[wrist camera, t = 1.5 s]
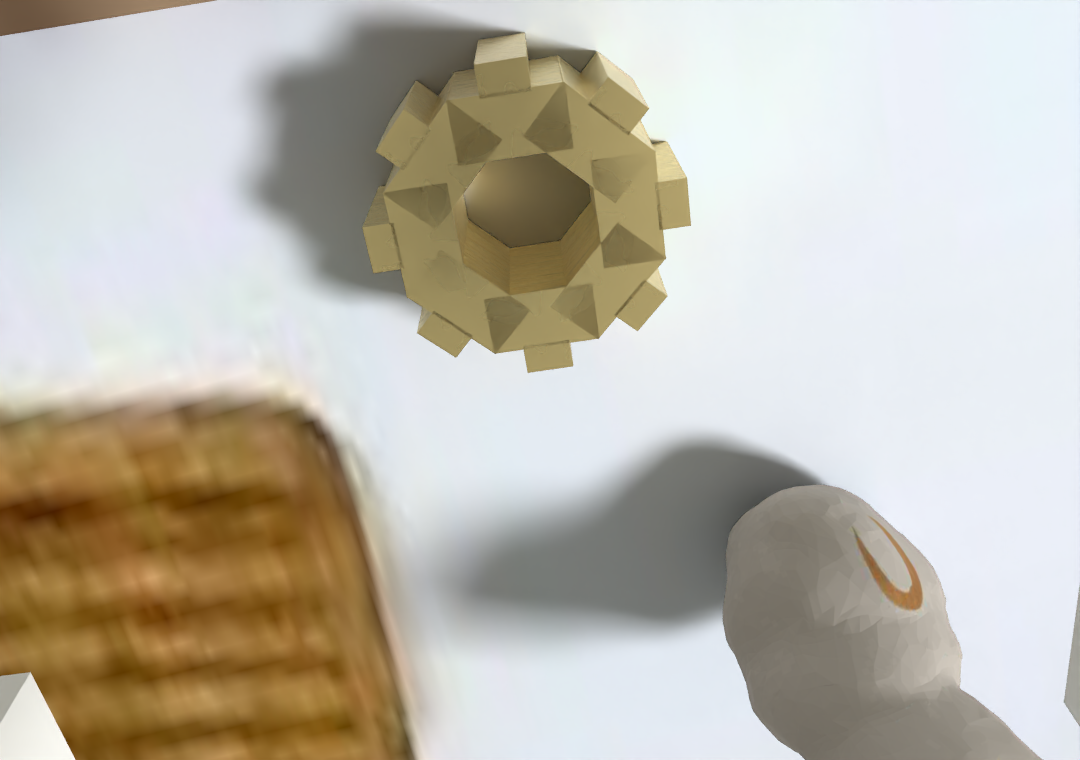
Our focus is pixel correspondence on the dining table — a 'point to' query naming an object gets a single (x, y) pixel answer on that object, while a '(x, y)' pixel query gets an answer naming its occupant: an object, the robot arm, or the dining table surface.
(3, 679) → the robot arm
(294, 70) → the dining table surface
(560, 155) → the brass gear
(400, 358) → the dining table surface
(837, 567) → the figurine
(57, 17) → the board
